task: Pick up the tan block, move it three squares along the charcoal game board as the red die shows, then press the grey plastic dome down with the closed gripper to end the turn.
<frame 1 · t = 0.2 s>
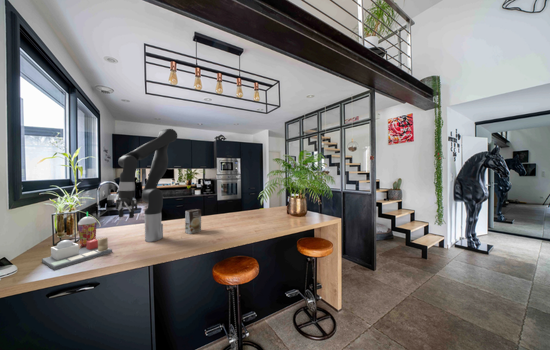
hand: (126, 217, 115), 18 cm above the counter, tool pointing down, fingers open, 8 cm apart
tan block: (103, 249, 108), point 2 cm above the counter, touching game board
dome: (64, 246, 101), point 6 cm above the counter, slide at 0.0 cm
coffee box: (193, 232, 144), on the counter
game board: (79, 256, 103), on the counter
smoothie: (88, 245, 120), on the counter
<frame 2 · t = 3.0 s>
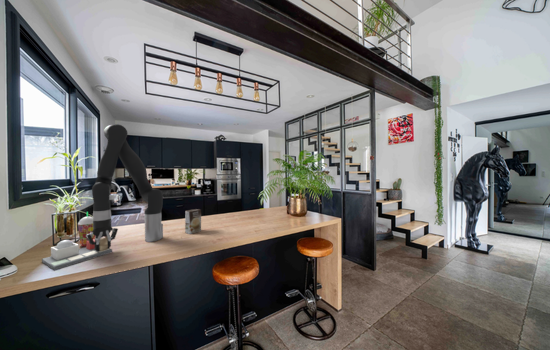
hand: (102, 249, 108), 2 cm above the counter, tool pointing down, fingers closed on tan block, 4 cm apart
tan block: (103, 249, 108), point 2 cm above the counter, touching game board, gripper
everything else where it was.
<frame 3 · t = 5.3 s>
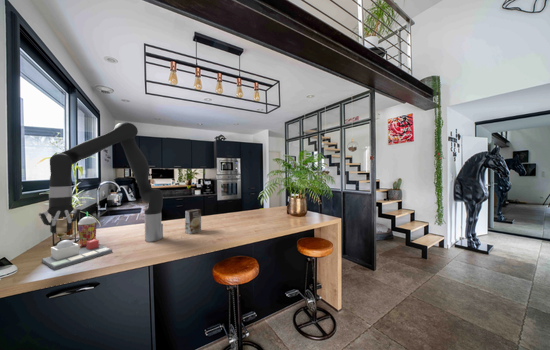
hand: (60, 231, 94), 16 cm above the counter, tool pointing down, fingers closed on tan block, 4 cm apart
tan block: (61, 232, 94), point 16 cm above the counter, touching gripper
everything else where it was.
when the fingers open (3 cm above the counter, at t = 8.1 s): tan block drops 1 cm, resting on game board.
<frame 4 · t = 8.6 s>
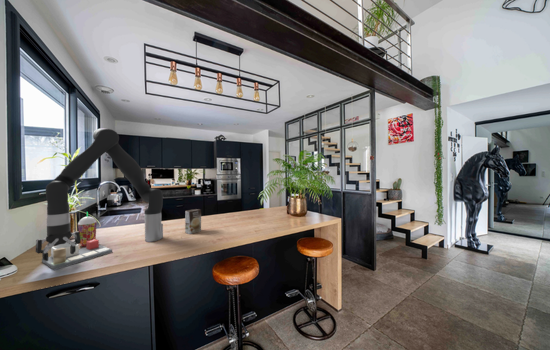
hand: (59, 257, 93), 4 cm above the counter, tool pointing down, fingers open, 8 cm apart
tan block: (59, 262, 93), point 2 cm above the counter, touching game board
everything else where it was.
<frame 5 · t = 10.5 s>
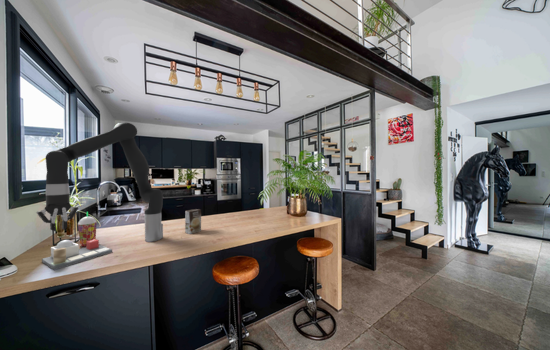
hand: (59, 229, 93), 17 cm above the counter, tool pointing down, fingers closed
nothing on the counter moved.
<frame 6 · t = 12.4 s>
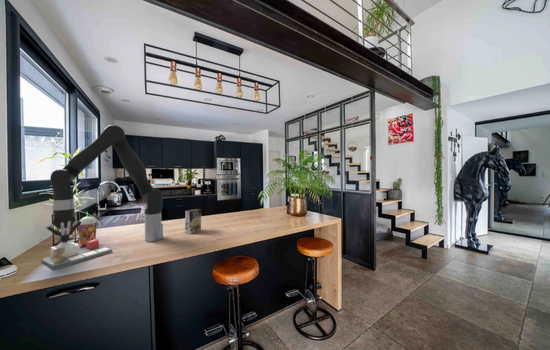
hand: (64, 241, 101), 8 cm above the counter, tool pointing down, fingers closed
dome: (65, 247, 101), point 5 cm above the counter, slide at 0.9 cm, touching gripper
everything else where it was.
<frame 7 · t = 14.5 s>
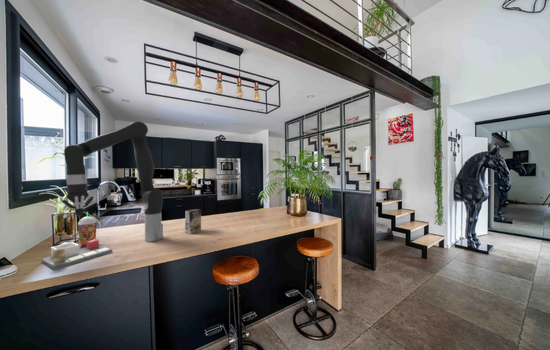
hand: (79, 215, 105), 21 cm above the counter, tool pointing down, fingers closed
dome: (65, 248, 101), point 5 cm above the counter, slide at 1.2 cm
everything else where it was.
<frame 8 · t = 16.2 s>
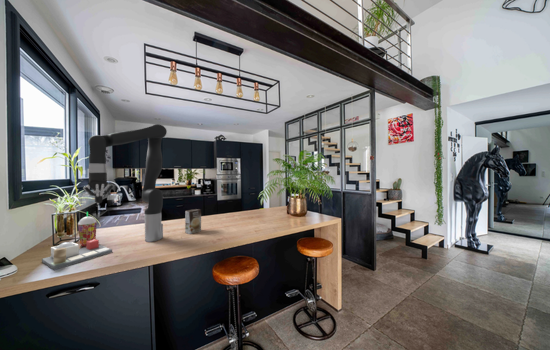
hand: (98, 202, 110), 27 cm above the counter, tool pointing down, fingers closed
nothing on the counter moved.
at the end: tan block 0.0 cm from the target spot, point 1.8 cm above the counter; tan block tilted 3°; dome slide at 1.2 cm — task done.
